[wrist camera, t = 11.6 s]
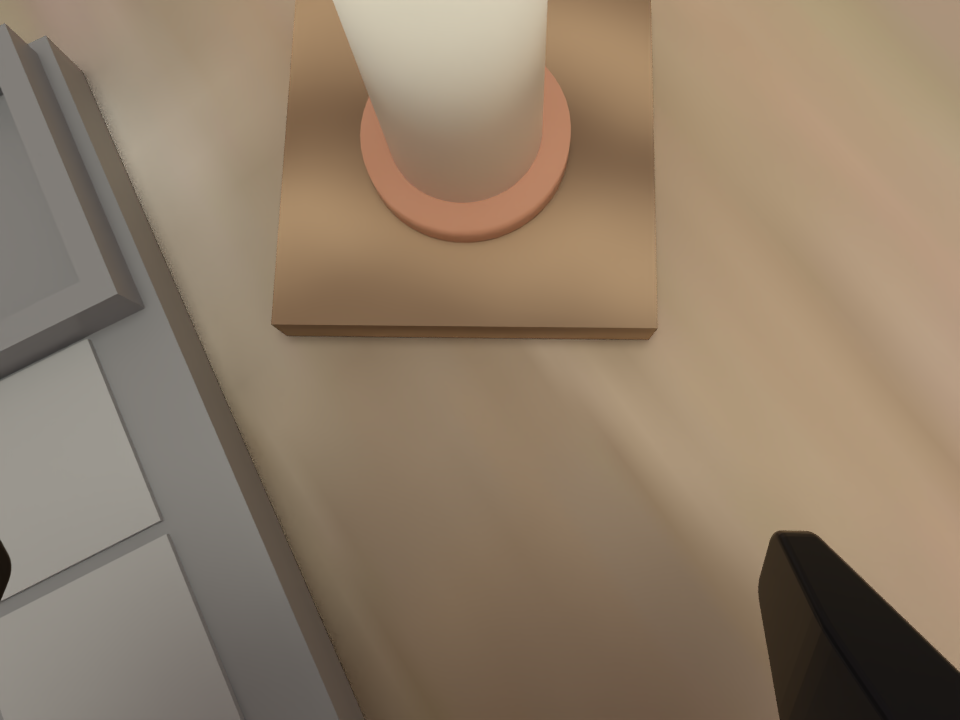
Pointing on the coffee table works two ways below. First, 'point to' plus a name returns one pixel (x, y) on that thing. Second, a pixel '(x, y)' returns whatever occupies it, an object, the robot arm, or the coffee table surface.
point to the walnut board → (485, 264)
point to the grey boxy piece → (125, 457)
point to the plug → (459, 112)
